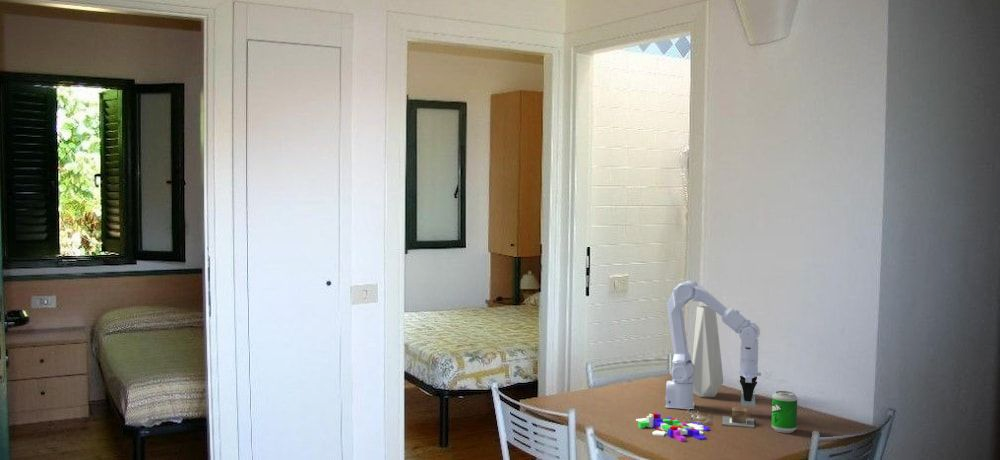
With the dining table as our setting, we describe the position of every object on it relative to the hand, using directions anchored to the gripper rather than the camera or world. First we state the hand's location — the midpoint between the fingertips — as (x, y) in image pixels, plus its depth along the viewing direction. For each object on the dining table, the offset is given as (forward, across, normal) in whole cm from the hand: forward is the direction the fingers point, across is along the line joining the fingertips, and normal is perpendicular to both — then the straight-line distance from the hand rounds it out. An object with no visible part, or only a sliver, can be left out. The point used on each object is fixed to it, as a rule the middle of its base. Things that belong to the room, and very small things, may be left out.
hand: (747, 399), depth 288 cm
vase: (+6, +24, +15) cm, 29 cm away
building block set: (+6, -25, +22) cm, 34 cm away
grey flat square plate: (+5, -11, +3) cm, 13 cm away
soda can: (+5, -16, -11) cm, 20 cm away
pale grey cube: (+2, 0, 0) cm, 2 cm away
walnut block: (+5, -11, +3) cm, 12 cm away
